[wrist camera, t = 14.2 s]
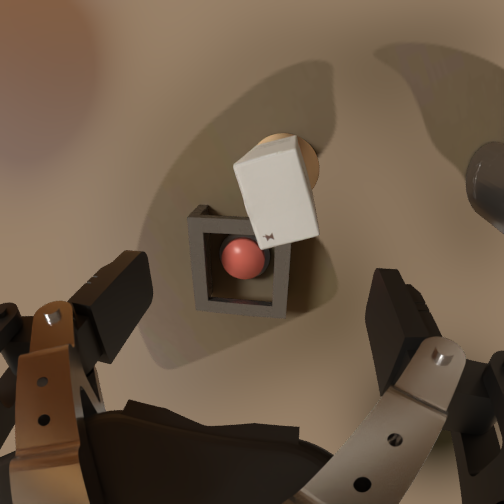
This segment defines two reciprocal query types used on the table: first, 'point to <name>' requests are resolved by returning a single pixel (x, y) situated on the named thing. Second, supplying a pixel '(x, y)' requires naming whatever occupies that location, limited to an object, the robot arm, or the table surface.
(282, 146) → the skincare box
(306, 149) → the coaster
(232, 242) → the button
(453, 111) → the table surface
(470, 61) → the table surface
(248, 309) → the grey square frame
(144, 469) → the robot arm
